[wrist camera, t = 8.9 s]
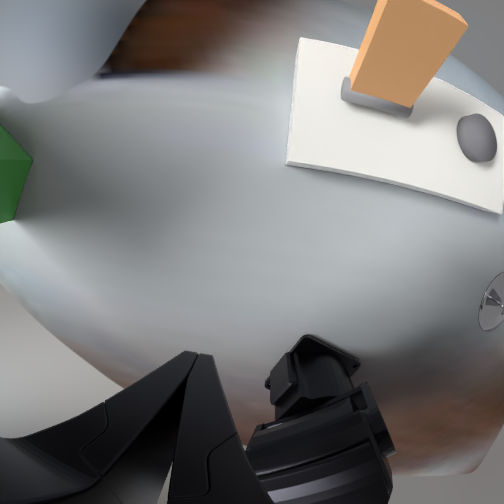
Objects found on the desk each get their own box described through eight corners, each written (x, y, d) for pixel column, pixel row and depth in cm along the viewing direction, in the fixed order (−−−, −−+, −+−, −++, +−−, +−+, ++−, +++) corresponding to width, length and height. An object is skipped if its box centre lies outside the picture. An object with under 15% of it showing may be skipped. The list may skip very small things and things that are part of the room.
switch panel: (481, 210, 18) (501, 214, 15) (285, 164, 19) (288, 160, 16) (484, 120, 16) (504, 116, 13) (296, 55, 16) (300, 37, 14)
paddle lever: (404, 122, 14) (473, 30, 5) (341, 105, 14) (388, -13, 5) (401, 104, 14) (460, 13, 5) (340, 88, 14) (380, -24, 6)
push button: (485, 167, 14) (496, 167, 13) (456, 154, 14) (467, 153, 13) (485, 125, 13) (496, 123, 12) (455, 109, 14) (466, 106, 12)
